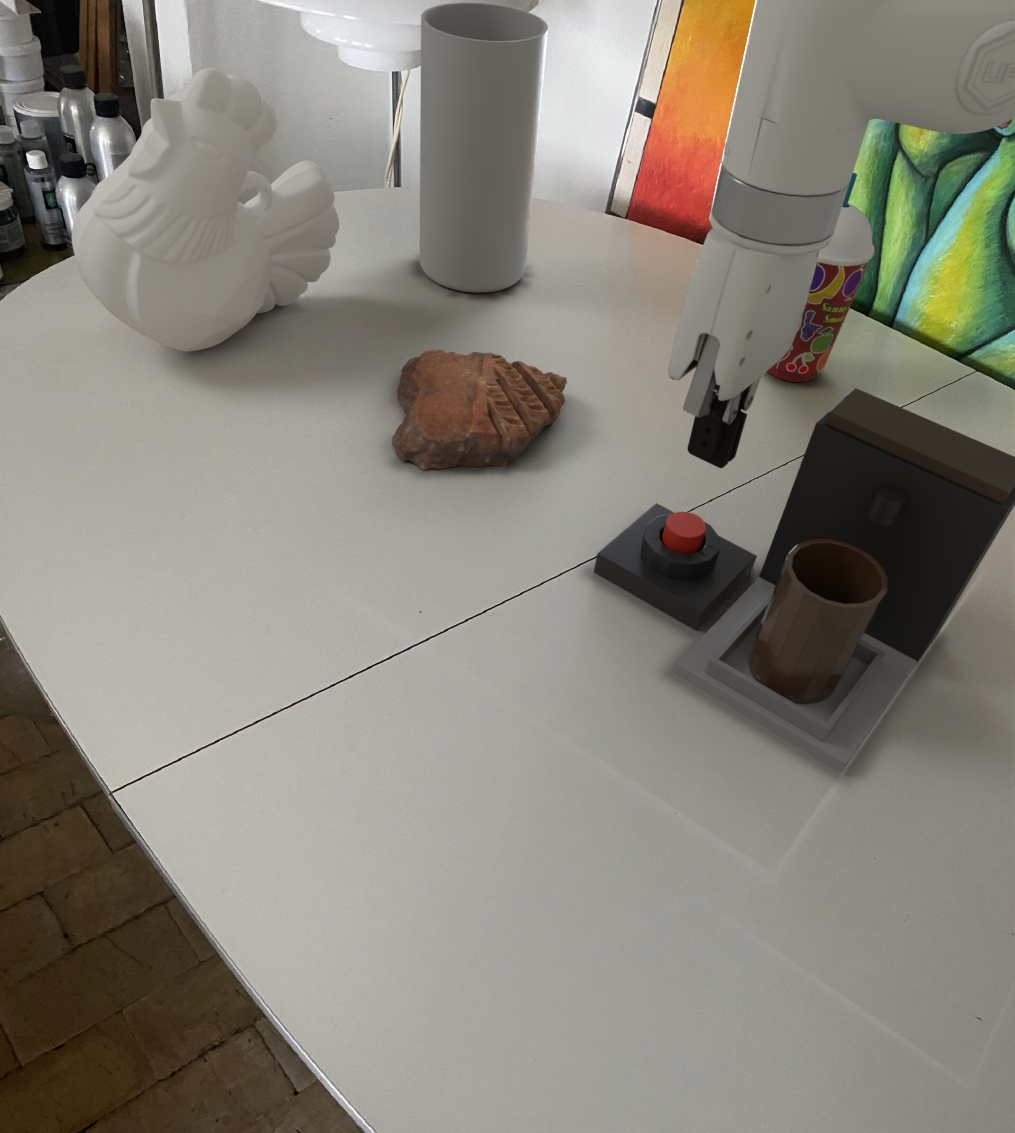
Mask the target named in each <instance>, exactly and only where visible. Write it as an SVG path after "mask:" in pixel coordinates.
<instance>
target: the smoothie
mask: <svg viewBox="0 0 1015 1133" xmlns="http://www.w3.org/2000/svg"><path fill="white" fill-rule="evenodd" d="M857 177H858V173H856V172H853V174H852V177H851V180H850V183H849V186H848V189H847V192H846V196H845V199H844V202H843V205H842V208H841V211H840V215H839V218H838V221H837V224H836V227H835V231H834V234H833V238H832V240H831V242H830V243H829V245H827V246H826V247H825V248H823V249H821V250H820V251H819V256H818V260H817V264H816V268H815V272H814V276H813V280H812V284H811V287H810V291H809V295H808V298H807V302H806V305H805V309H804V312H803V315H802V318H801V322H800V324H799V327H798V330H797V333H796V336H795V338H794V341H793V343H792V345H791V347H790V348H789V350H788V351H787V353H786V354H785V355H784V356H783V357H782V358H781V359H780V360H779V361H778V362H777V363H776V364H775V365H773V366H772V367H771V368H770V369H769V370H768V371H767V372H768V373H769V374H771V375H772V376H774V377H775V378H778V379H781V380H783V381H787V382H791V383H792V382H793V383H802V382H808V381H810V380H812V379H814V378H815V376H816V375H817V373H818V372H820V371H822V370H823V369H824V367H825V366H826V364H827V362H828V359H829V357H830V354H831V352H832V350H833V348H834V346H835V343H836V341H837V338H838V336H839V333H840V331H841V329H842V327H843V325H844V322H845V320H846V317H847V315H848V313H849V311H850V308H851V306H852V304H853V301H854V299H855V297H856V294H857V292H858V290H859V288H860V286H861V283H862V281H863V279H864V276H865V274H866V272H867V269H868V267H869V265H870V262H871V261H872V260H871V259H872V258H873V257H874V255H875V246H874V245H873V234H872V228H871V225H870V222H869V220H868V218H867V216H866V215H865V214H864V212H863V211H862V210H860V209H859V208H858V207H857V206H856V205H854V204H851V203H849V201H850V198H851V195H852V192H853V188H854V186H855V183H856V180H857Z"/></svg>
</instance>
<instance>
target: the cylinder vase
mask: <svg viewBox="0 0 1015 1133" xmlns="http://www.w3.org/2000/svg"><path fill="white" fill-rule="evenodd" d="M548 31H549V26H548V24H547V22H546V21H545V20H544V19H543V18H541V17H540V16H538V15H536V14H534V13H532V12H529V11H527V10H523V9H520V8H517V7H512V6H509V5H508V6H507V5H503V4H495V3H489V2H488V3H485V2H450V3H443V4H438V5H434V6H431V7H429V8H427V9H425V10H424V11H423V12H422V13H421V15H420V117H419V118H420V120H419V122H420V124H419V126H420V127H419V129H420V130H419V141H420V142H419V264H420V267H421V270H422V271H423V273H424V274H425V275H426V276H427V277H428V278H429V279H430V280H432V281H433V282H435V283H436V284H438V285H440V286H443V287H445V288H447V289H448V288H449V289H450V290H455V291H459V292H464V293H465V292H466V293H491V292H492V293H493V292H498V291H501V290H505V289H508V288H510V287H512V286H513V285H515V284H517V283H518V282H519V281H520V280H521V279H522V278H523V276H524V275H525V272H526V269H527V260H528V248H529V238H530V230H531V229H530V228H531V227H530V226H531V219H532V218H531V217H532V207H533V206H532V205H533V197H534V196H533V194H534V185H535V184H534V183H535V175H536V174H535V172H536V163H537V162H536V161H537V150H538V140H539V139H538V138H539V129H540V118H541V107H542V98H543V88H544V85H543V84H544V76H545V75H544V74H545V65H546V64H545V63H546V54H547V42H548Z"/></svg>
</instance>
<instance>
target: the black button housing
mask: <svg viewBox="0 0 1015 1133" xmlns="http://www.w3.org/2000/svg"><path fill="white" fill-rule="evenodd" d="M673 513H675V511H672V510H670V509H669V508H667V507H665V506H663V505H661V504H659V503H657V502H656V503H654V504H653V505H652V506H651V507H650V508H648V509H647V510H646V511H645V512H644V513H643V514H641V515H640V516H639V517H638V518H637V519H635V520H634V521H633V522H632V523H631V524H630V525H629V526H627V527H626V528H625V529H624V530H623V531H622V532H620V534H618V535H617V536H616V537H615V538H614V539H612V540H611V541H609V543H607V544H606V546H605V547H602V549H601V550H599V552H597V554H596V559H595V564H594V569H593V573H594V574H595V575H597V576H599V577H601V578H602V579H603V580H606V581H607V582H609V583H610V584H612V585H615V586H616V587H618V588H620V589H622V590H623V591H626V592H627V593H629V594H631V595H632V596H634V597H635V598H637V599H639V600H640V601H643V602H645V603H646V604H648V605H650V606H651V607H653V608H655V609H657V610H659V611H660V612H662V613H664V614H666V615H667V616H669V617H670V618H672V619H674V620H675V621H678V622H680V623H681V624H683V625H684V626H686V627H688V628H690V629H691V630H694V631H695V632H697V631H698V630H699V629H700V628H702V626H703V625H704V624H705V623H706V622H707V621H708V619H709V618H711V616H713V615H714V613H716V611H717V610H718V609H719V608H720V607H721V606H722V605H723V604H724V603H725V602H726V601H727V600H728V599H729V598H730V597H731V596H732V595H733V594H734V593H735V592H736V591H737V589H739V587H740V586H741V585H742V584H743V583H744V582H745V581H746V580H747V579H749V577H750V576H751V574H752V571H753V568H754V566H755V563H756V560H757V558H758V556H757V554H754V553H752V552H750V551H749V550H747V549H745V548H743V547H742V546H740V545H737V544H735V543H734V542H731V541H730V540H728V539H726V538H724V537H722V536H720V535H719V534H718V533H717V532H716V530H715V529H714V527H712V525H711V524H709V523H708V522H706V521H704V522H705V524H706V531H705V534H704V538H703V541H702V545H701V547H700V549H699V550H698V551H696V552H694V553H691V554H685V553H678V552H675V551H673V550H671V549H669V548H667V547H666V546H665V545H664V543H663V540H662V536H663V532H664V528H665V524H666V520H667V518H668V517H669V516H670V515H671V514H673Z"/></svg>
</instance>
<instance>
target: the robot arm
mask: <svg viewBox="0 0 1015 1133" xmlns="http://www.w3.org/2000/svg"><path fill="white" fill-rule="evenodd" d="M730 114H731V115H730V119H729V123H728V127H727V128H728V129H727V133H726V139H725V141H724V142H725V143H724V147H723V151H722V157H721V162H720V165H719V171H718V175H717V180H716V185H715V189H714V193H713V198H712V203H711V210H710V213H709V216H708V219H709V224H710V226H711V227H712V228H711V229H710V230H709V231H708V233H707V235H706V237H705V240H704V242H703V244H702V248H701V250H700V253H699V255H698V258H697V261H696V264H695V266H694V268H693V272H692V275H691V278H690V282H689V286H688V288H687V291H686V295H685V299H684V302H683V306H682V310H681V312H680V317H679V321H678V324H677V328H676V331H675V335H674V336H675V337H674V340H673V345H672V349H671V352H670V357H669V361H668V367H667V374H668V378H670V379H671V380H672V381H673V380H674V381H675V380H676V381H677V382H679V381H681V379H682V378H684V377H685V376H686V375H688V374H689V373H691V372H692V371H693V370H694V374H693V377H692V380H691V382H690V386H689V388H688V392H687V394H686V397H685V401H684V404H683V407H682V410H683V411H684V412H686V413H687V414H690V415H691V416H694V419H693V423H692V427H691V432H690V436H689V441H688V443H687V444H688V445H687V447H686V448H687V453H688V454H690V455H691V456H694V457H696V458H698V459H699V460H701V461H704V462H706V463H708V464H710V465H712V466H715V467H716V468H718V469H724V468H725V467H726V466H727V465H728V464H729V462H732V461H733V460H734V459H735V458H736V455H737V452H738V448H739V445H740V442H741V438H742V434H743V431H744V427H745V425H746V420H747V417H748V413H746V412H747V411H749V409H750V407H751V406H752V404H753V402H754V398H755V396H756V393H757V391H758V386H759V384H760V381H761V378H762V376H763V375H765V373H767V372H769V371H768V370H769V369H770V368H771V367H772V366H773V365H775V364H776V363H777V362H778V361H779V360H780V359H781V358H782V357H783V356H784V355H785V354H786V353H787V351H788V350H789V348H790V347H791V345H792V343H793V341H794V338H795V336H796V333H797V330H798V327H799V324H800V322H801V318H802V315H803V312H804V309H805V305H806V302H807V298H808V295H809V291H810V287H811V284H812V280H813V276H814V272H815V268H816V264H817V260H818V256H819V251H820V250H821V249H823V248H825V247H826V246H827V245H829V243H830V242H831V240H832V238H833V234H834V231H835V227H836V224H837V221H838V218H839V215H840V211H841V208H842V205H843V202H844V199H845V196H846V192H847V189H848V186H849V183H850V180H851V177H852V174H853V173H854V170H855V167H856V164H857V160H858V158H859V155H860V152H861V148H862V146H863V141H864V139H865V136H866V132H867V129H868V126H869V122H870V121H871V120H881V121H886V122H891V123H895V124H896V123H897V124H900V125H905V126H909V127H914V128H916V129H917V128H918V129H922V130H927V131H931V132H936V133H942V134H951V135H965V134H966V135H967V134H968V135H969V134H974V133H979V132H985V131H989V130H992V129H994V128H997V127H999V126H1002V125H1004V124H1006V123H1008V122H1010V121H1012V120H1013V119H1014V118H1015V0H755V3H754V7H753V11H752V16H751V20H750V26H749V30H748V34H747V40H746V45H745V49H744V53H743V58H742V62H741V68H740V72H739V78H738V82H737V86H736V91H735V96H734V101H733V105H732V111H731V113H730Z"/></svg>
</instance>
